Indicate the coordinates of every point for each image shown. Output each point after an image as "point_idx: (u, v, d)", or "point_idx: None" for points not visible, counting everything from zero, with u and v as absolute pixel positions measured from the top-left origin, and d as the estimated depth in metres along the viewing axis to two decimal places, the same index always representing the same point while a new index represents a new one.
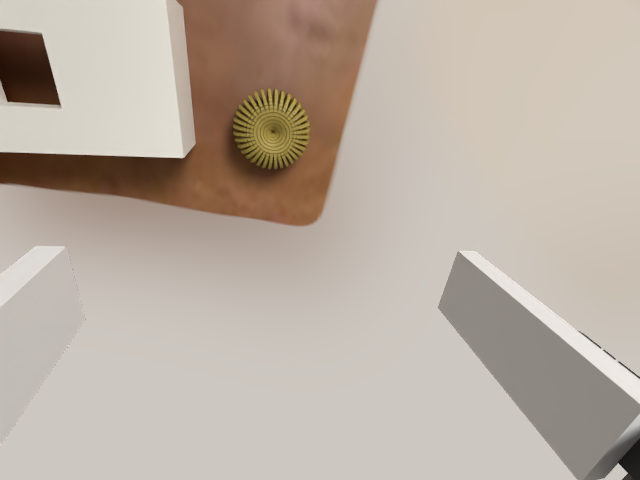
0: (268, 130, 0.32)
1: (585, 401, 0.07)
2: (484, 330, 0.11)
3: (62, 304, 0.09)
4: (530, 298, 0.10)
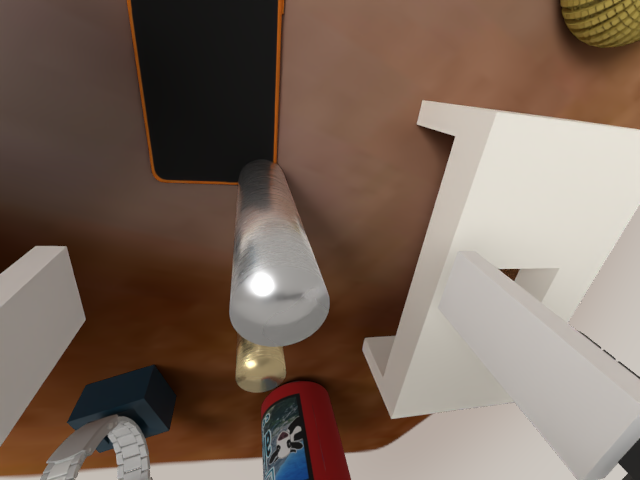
0: None
1: (585, 401, 0.07)
2: (484, 331, 0.11)
3: (62, 304, 0.09)
4: (530, 298, 0.10)
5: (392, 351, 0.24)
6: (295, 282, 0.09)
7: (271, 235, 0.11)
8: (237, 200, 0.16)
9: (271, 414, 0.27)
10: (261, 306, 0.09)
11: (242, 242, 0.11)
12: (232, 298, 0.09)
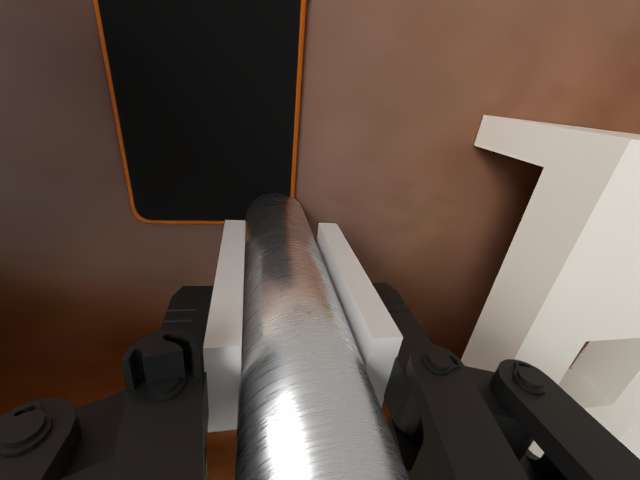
0: None
1: (355, 342, 0.08)
2: None
3: None
4: (352, 259, 0.10)
5: None
6: None
7: (309, 379, 0.06)
8: None
9: None
10: None
11: (255, 380, 0.06)
12: None
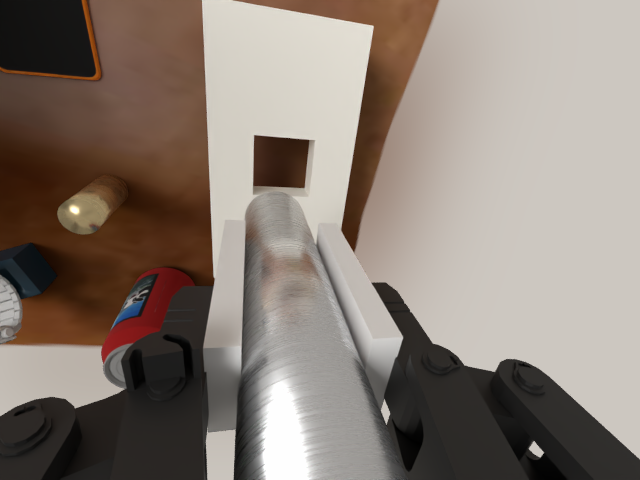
0: None
1: (355, 342, 0.08)
2: None
3: None
4: (352, 259, 0.10)
5: None
6: None
7: (308, 381, 0.06)
8: None
9: (133, 288, 0.34)
10: None
11: (254, 382, 0.06)
12: None
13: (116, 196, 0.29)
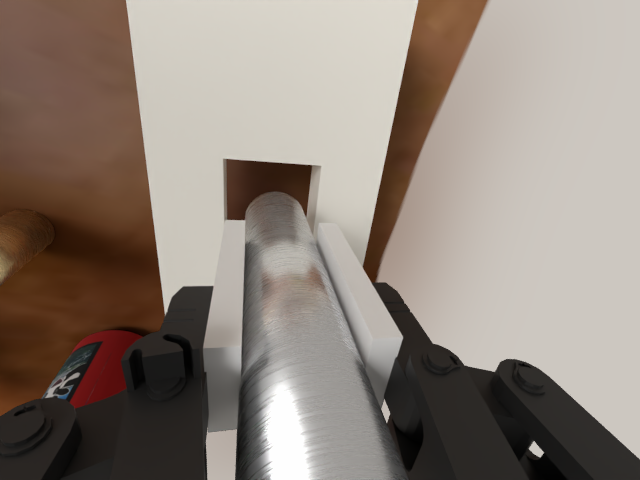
0: None
1: (355, 342, 0.08)
2: None
3: None
4: (352, 259, 0.10)
5: None
6: None
7: (309, 382, 0.06)
8: None
9: (64, 363, 0.24)
10: None
11: (255, 383, 0.06)
12: None
13: (24, 244, 0.19)
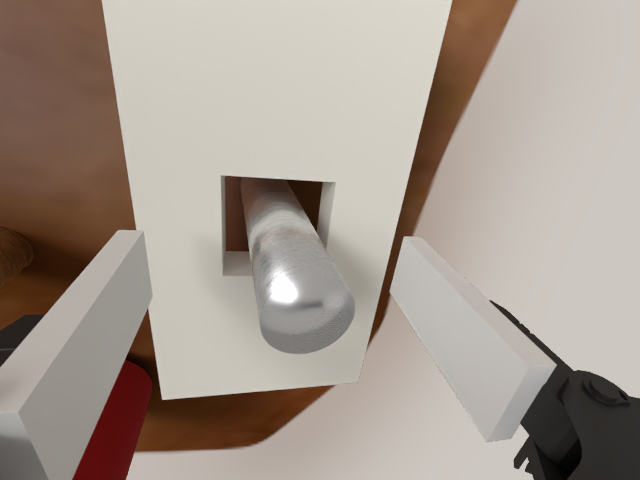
0: None
1: (490, 366, 0.08)
2: (422, 309, 0.11)
3: (141, 280, 0.10)
4: (458, 277, 0.10)
5: None
6: (324, 290, 0.09)
7: (294, 245, 0.11)
8: (245, 207, 0.16)
9: None
10: (290, 315, 0.09)
11: (263, 251, 0.11)
12: (263, 308, 0.09)
13: None
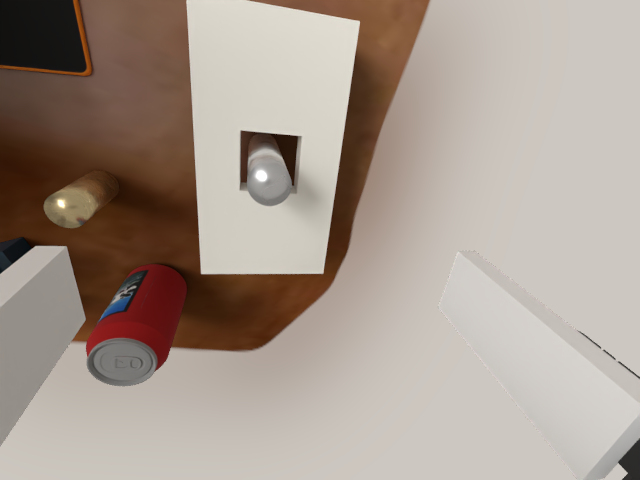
0: None
1: (585, 401, 0.07)
2: (484, 330, 0.11)
3: (62, 304, 0.09)
4: (530, 298, 0.10)
5: None
6: (275, 171, 0.21)
7: (266, 156, 0.22)
8: (248, 152, 0.28)
9: (122, 284, 0.34)
10: (260, 182, 0.21)
11: (252, 161, 0.23)
12: (248, 177, 0.21)
13: (105, 191, 0.29)
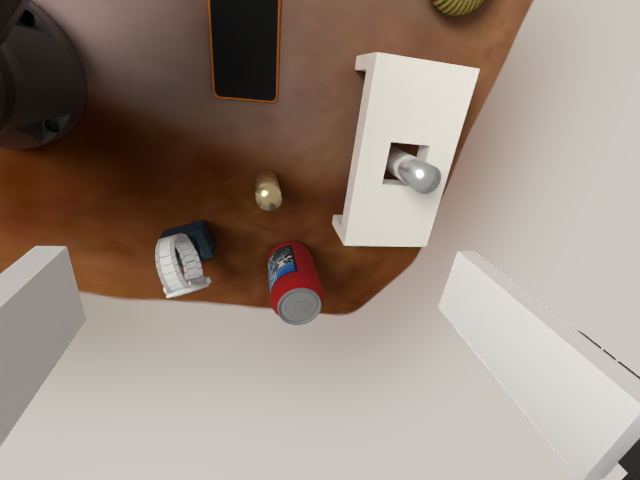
0: None
1: (585, 401, 0.07)
2: (484, 330, 0.11)
3: (62, 304, 0.09)
4: (530, 298, 0.10)
5: (344, 206, 0.41)
6: (433, 171, 0.32)
7: (420, 161, 0.34)
8: None
9: (274, 255, 0.45)
10: (422, 178, 0.32)
11: (408, 164, 0.34)
12: (416, 174, 0.32)
13: None
